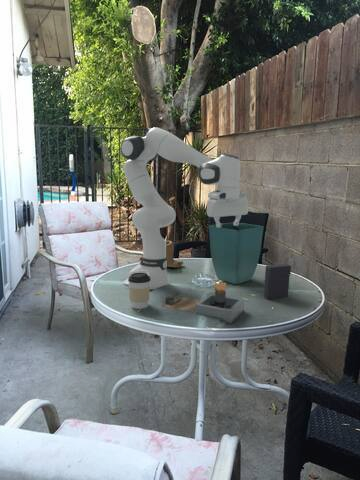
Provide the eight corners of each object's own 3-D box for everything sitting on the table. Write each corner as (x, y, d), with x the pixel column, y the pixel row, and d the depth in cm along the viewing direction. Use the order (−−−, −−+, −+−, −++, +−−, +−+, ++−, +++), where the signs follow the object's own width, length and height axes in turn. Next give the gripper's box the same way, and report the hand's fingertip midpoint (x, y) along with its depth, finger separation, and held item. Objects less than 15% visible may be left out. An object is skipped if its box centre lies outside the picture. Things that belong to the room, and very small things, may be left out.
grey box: (283, 294, 189) (285, 263, 186) (289, 297, 185) (291, 265, 182) (262, 297, 185) (264, 265, 182) (268, 300, 181) (270, 267, 178)
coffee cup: (124, 308, 169) (123, 273, 166) (141, 303, 175) (140, 269, 172) (137, 314, 162) (137, 278, 160) (155, 309, 169) (155, 274, 166)
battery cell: (212, 312, 164) (213, 281, 161) (216, 308, 167) (217, 278, 165) (223, 313, 162) (223, 282, 159) (226, 310, 166) (227, 279, 163)
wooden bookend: (151, 267, 233) (151, 242, 230) (159, 263, 243) (159, 238, 241) (176, 270, 227) (176, 244, 224) (183, 265, 238) (184, 240, 235)
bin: (195, 316, 161) (195, 304, 160) (209, 304, 175) (210, 293, 174) (231, 323, 155) (231, 311, 154) (243, 311, 168) (244, 299, 167)
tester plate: (161, 309, 169) (161, 298, 168) (176, 299, 181) (176, 289, 180) (192, 315, 163) (192, 304, 162) (206, 304, 175) (206, 294, 174)
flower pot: (206, 279, 212) (207, 225, 207) (232, 272, 226) (234, 221, 220) (235, 288, 198) (238, 230, 192) (261, 280, 211) (264, 226, 205)
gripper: (242, 192, 180) (240, 223, 182) (204, 193, 169) (203, 227, 171) (252, 193, 175) (250, 225, 177) (214, 195, 163) (213, 229, 166)
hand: (227, 226), depth 174 cm, fingers open, 8 cm apart
